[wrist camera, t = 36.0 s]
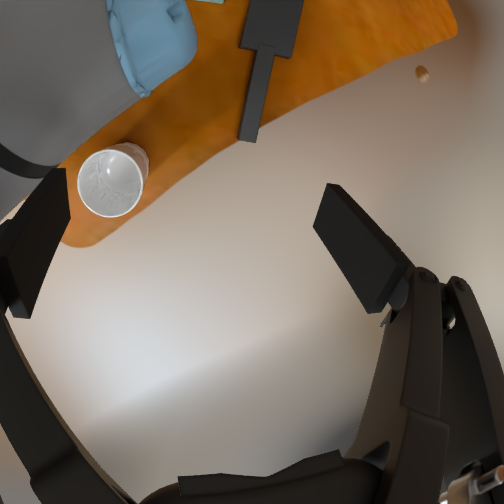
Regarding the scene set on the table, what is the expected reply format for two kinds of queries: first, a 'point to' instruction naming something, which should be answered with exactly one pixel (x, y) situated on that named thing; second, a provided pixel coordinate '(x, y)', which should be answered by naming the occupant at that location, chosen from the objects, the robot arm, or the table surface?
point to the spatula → (265, 53)
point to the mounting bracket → (214, 1)
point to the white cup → (113, 179)
